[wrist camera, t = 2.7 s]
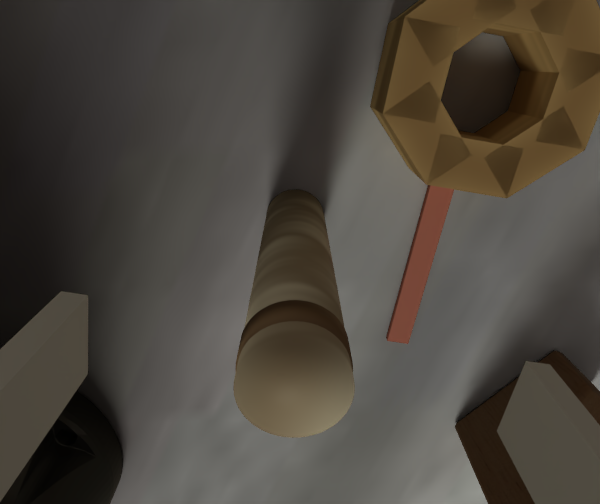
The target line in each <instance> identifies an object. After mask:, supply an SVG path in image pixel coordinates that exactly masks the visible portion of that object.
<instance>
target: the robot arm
mask: <svg viewBox="0 0 600 504" xmlns="http://www.w3.org/2000/svg"><path fill="white" fill-rule="evenodd" d="M87 375H88V295H83V294H77V293H70V292H63V291H61V292H60V293H59V294H58V295H57V296H56V297H54V298H53V299H52V300H51V301H50V302H49V303H48V304H47V305H46V306H45V307H44V308H43V309H42V310H41V311H40V312H39V313H38V314H37V315H36V316H35V317H34V318H32V319H31V320H30V321H29V322H28V323H27V324H26V325H25V326H24V327H23V328H22V329H21V330H20V331H19V332H18V333H17V334H16V335H15V336H14V337H13V338H12V339H10V340H9V341H8V342H7V343H6V344H5V345H4V346H3V347H2V348H1V349H0V504H110V503H111V500H112V498H113V496H114V493H115V491H116V488H117V486H118V484H119V481H120V478H121V473H122V453H121V448H120V445H119V442H118V439H117V437H116V434H115V432H114V430H113V429H112V427H111V425H110V424H109V422H108V421H107V420H106V418H105V417H104V416H103V415H102V413H101V412H100V411H99V410H98V409H97V408H96V407H95V406H94V405H93V404H92V403H91V402H90V401H88V400H87V399H86V398H85V397H83V396H82V395H81V394H79V393H78V392H76V391H77V389H78V388H79V386H80V385H81V383H82V382H83V380H84V379H85V377H86V376H87ZM497 433H498V435H499V436H500V438H501V440H502V442H503V444H504V446H505V448H506V450H507V452H508V454H509V455H510V457H511V459H512V461H513V463H514V465H515V467H516V469H517V471H518V473H519V474H520V476H521V478H522V480H523V482H524V484H525V486H526V488H527V490H528V492H529V493H530V495H531V497H532V499H533V501H534V503H535V504H600V425H599V424H598V423H597V421H596V420H595V419H594V418H593V416H592V415H591V414H590V413H589V412H588V410H587V409H586V408H585V407H584V405H583V404H582V403H581V402H580V401H579V399H578V398H577V397H576V396H575V394H574V393H573V392H572V391H571V390H570V388H569V387H568V386H567V385H566V383H565V382H564V381H563V380H562V379H561V377H560V376H559V375H558V374H557V372H556V371H555V370H554V369H553V368H552V366H551V365H550V364H544V363H537V362H530V361H526V362H525V364H524V367H523V369H522V371H521V374H520V376H519V379H518V381H517V384H516V386H515V388H514V391H513V393H512V396H511V398H510V400H509V403H508V405H507V408H506V410H505V412H504V415H503V417H502V420H501V422H500V424H499V427H498V429H497Z"/></svg>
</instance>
